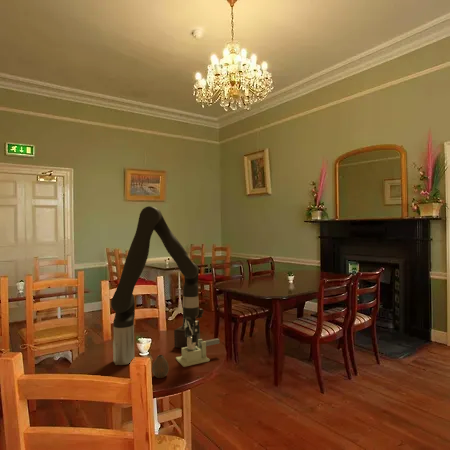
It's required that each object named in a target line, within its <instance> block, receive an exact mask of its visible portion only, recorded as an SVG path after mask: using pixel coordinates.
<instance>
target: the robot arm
mask: <svg viewBox="0 0 450 450" xmlns="http://www.w3.org/2000/svg"><path fill="white" fill-rule="evenodd" d="M154 232H155V233H156V234H157V235H158V237H159V238H160V240H161V242H162V244H163V246H164V248H165V250H166V251H167V253H168V254H169V256H170V257H171V259H172V260H173V261H174V263H175V264H176V266H177V267H178V269H179V271H180V272H181V275H183V276H184V278H183V279H184V282H183V283H184V284H183V287H182V290H183V292H182V293H183V294H182V296H183V297H182V325H183V327H184V329H185V337H188V336H190V330H191V332H192V342H193V343H195V342H197V334H199V326H200V321H199V320H197V318H196V317H197V316H198V315H199V309H200V308H199V307H200V305H199V304H200V303H199V302H200V301H199V300H200V299H199V284H198V283H199V272H200V271H199V266H198V265H197V264H196V263H195V262H193V261H192V260H191V258H190V257H189V254H188V252H187V250H185V248H184V247H183V245H182V243H181V242H180V241H179V240H178V239H177V237H176V236H175V234H174V233H173V232H172V230H171V228H170V227H169V225H168V224H167V222H166V219H165V218H164V216H163V214H162V212H161V210H160V209H159V208H158V207H156V206H145V207H143V208H142V210H140V213H139V217H138V221H137V226H136V230H135V233H134V237H133V239H132V240H131V244H130V246H129V250H128V252H127V255H126V257H125V262H124V265H123V268H122V272H121V276H120V279H119V282H118V285H117V287H116V289H115V291H114V293H113V295H112V298H111V301H110V304H111V309H112V310H113V312H115V315H114V319H113V323H112V324H113V325H112V326H113V341H112V356H113V360H112V361H113V363H114V365H115V366H125V365H129V363H130V362H131V360H132V359H133V358H134V359H135V322H134V321H135V317H136V316H135V315H136V314H135V313H136V312H135V310H136V309H135V308H136V302H135V301H136V300H135V296H134V290H135V287H136V285H137V283H138V281H139V279H140V277H141V275H142V273H143V271H144V269H145V267H146V263H147V261H148V257H149V252H150V246H151V245H150V244H151V243H150V242H151V238H152V235H153V233H154ZM192 327H193V328H192ZM189 328H190V329H189ZM130 364H131V363H130Z"/></svg>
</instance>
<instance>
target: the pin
mask: <svg viewBox="0 0 450 450" xmlns="http://www.w3.org/2000/svg"><path fill="white" fill-rule="evenodd" d="M203 341H204V340H203ZM203 341H201V342H203ZM205 341H206V347H208V346H213V345H218V344H220V339H219V338H213V339H207V340H205ZM201 342H199V346H200V347H201Z"/></svg>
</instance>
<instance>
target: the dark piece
mask: <svg viewBox="0 0 450 450" xmlns="http://www.w3.org/2000/svg"><path fill="white" fill-rule="evenodd" d="M204 313H205V311H204V309H203V308H199V315H198V316H196V319H201V318H203V314H204ZM192 328H193V327H192ZM189 329H190V328H189ZM190 336H192V332H191V330H190ZM173 338H174V342H173V343H174V345H173V346H174V348H176V349H180V350H182V348H184V347H187V337H185V329H184V327H183V324H182V325H180V326H179V327H177V328H175V329H173ZM198 339H201V326H200V325H199V334H197V342H196V346H197V347H198Z"/></svg>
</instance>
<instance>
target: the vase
mask: <svg viewBox="0 0 450 450" xmlns="http://www.w3.org/2000/svg"><path fill="white" fill-rule="evenodd" d="M169 368H170V367H169V362H168V361H167V359H166V358H165V356H164V355H163V354H158V355H157V356H156V358H155V360H154V361H153V363H152V368H151V370H152V375H153V376H155V378H157V379H164V378H165V377H166V376H167V375H168V373H169Z"/></svg>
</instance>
